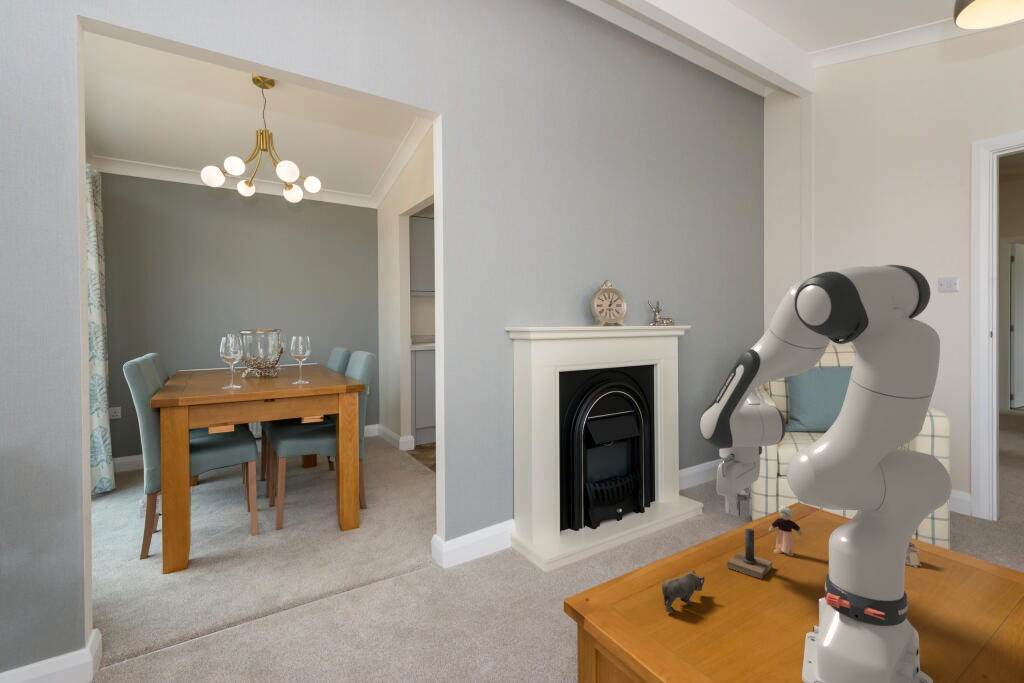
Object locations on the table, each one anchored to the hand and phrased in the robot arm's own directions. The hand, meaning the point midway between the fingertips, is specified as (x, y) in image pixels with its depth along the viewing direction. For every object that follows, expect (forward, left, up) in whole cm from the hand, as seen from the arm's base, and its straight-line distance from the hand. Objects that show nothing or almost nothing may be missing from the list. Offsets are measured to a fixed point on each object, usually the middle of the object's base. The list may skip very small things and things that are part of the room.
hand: (738, 505), depth 121 cm
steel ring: (0, 0, -2) cm, 2 cm away
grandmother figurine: (+18, -6, -16) cm, 25 cm away
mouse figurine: (+34, -28, -16) cm, 47 cm away
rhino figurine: (-23, +3, -16) cm, 29 cm away
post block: (+3, -2, -16) cm, 16 cm away
